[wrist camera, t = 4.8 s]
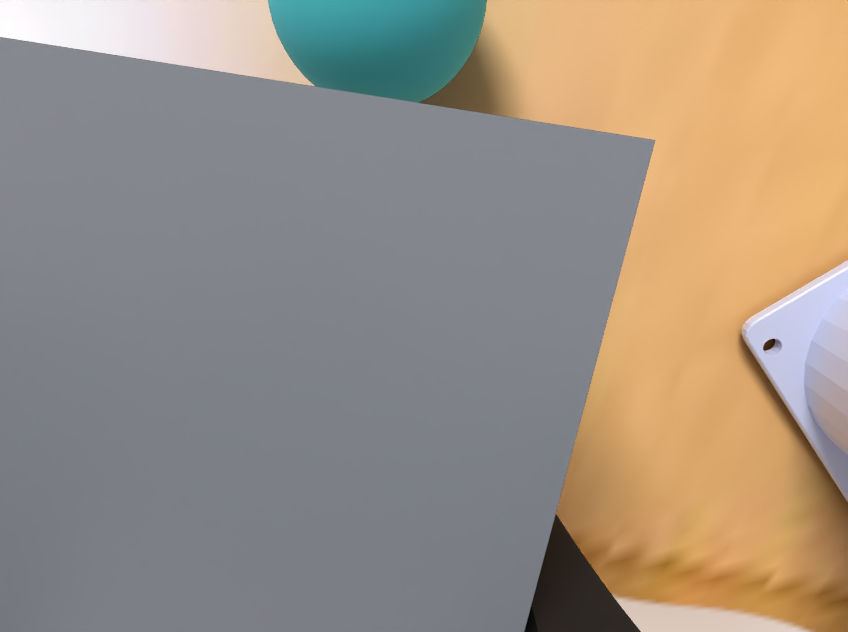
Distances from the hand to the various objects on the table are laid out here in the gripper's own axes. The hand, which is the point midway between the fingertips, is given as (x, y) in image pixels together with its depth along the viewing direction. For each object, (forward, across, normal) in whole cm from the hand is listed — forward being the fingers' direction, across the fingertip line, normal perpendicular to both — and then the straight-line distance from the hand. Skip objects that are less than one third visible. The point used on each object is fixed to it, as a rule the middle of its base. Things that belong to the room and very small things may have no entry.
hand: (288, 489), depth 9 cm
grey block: (+2, 0, 0) cm, 3 cm away
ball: (+7, +1, -8) cm, 11 cm away
